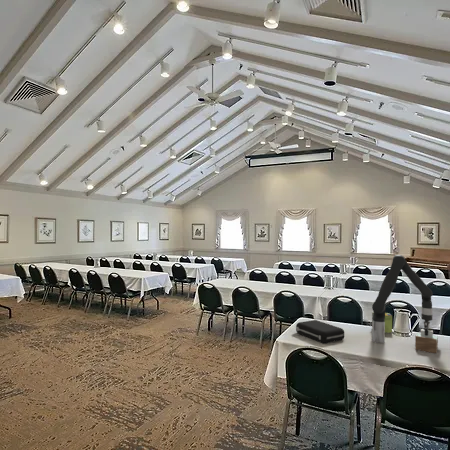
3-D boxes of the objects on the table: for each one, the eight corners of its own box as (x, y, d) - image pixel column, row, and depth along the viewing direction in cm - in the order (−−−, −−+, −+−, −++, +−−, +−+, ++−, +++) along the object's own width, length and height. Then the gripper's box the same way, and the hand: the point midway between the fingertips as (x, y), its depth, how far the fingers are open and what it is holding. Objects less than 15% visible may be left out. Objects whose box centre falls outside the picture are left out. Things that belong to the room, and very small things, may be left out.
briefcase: (351, 339, 298) (351, 327, 298) (323, 345, 283) (323, 332, 283) (320, 328, 330) (320, 318, 330) (294, 333, 314) (294, 322, 315)
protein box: (392, 333, 318) (392, 315, 318) (374, 331, 321) (374, 314, 321) (389, 329, 328) (389, 313, 328) (371, 328, 331) (371, 312, 331)
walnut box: (436, 353, 266) (436, 339, 266) (415, 349, 274) (415, 336, 274) (437, 347, 279) (437, 334, 279) (417, 344, 287) (417, 331, 287)
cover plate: (436, 342, 267) (436, 334, 267) (415, 338, 275) (415, 331, 275) (437, 337, 279) (437, 329, 279) (417, 334, 287) (417, 326, 287)
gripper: (431, 316, 269) (431, 337, 269) (433, 312, 281) (433, 332, 281) (420, 314, 273) (420, 335, 273) (422, 311, 285) (422, 331, 285)
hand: (426, 334), depth 277 cm, fingers open, 8 cm apart
